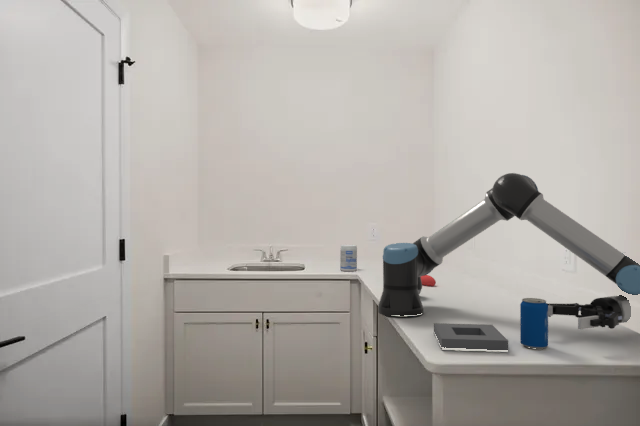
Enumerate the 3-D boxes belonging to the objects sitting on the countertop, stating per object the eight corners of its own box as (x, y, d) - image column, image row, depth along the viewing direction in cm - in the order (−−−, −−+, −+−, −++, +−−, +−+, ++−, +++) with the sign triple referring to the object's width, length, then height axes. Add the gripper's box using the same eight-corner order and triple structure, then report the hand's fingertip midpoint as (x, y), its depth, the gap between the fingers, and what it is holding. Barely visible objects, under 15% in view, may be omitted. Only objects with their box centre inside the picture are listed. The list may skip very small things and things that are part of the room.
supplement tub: (347, 272, 262) (347, 246, 262) (337, 270, 270) (336, 245, 270) (360, 270, 268) (360, 245, 268) (349, 269, 276) (349, 244, 276)
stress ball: (423, 290, 212) (430, 278, 211) (414, 280, 220) (421, 269, 219) (432, 293, 214) (438, 281, 213) (423, 283, 222) (429, 272, 221)
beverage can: (541, 352, 115) (541, 303, 115) (515, 346, 120) (515, 299, 120) (552, 347, 119) (552, 300, 119) (527, 341, 124) (527, 296, 124)
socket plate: (433, 333, 132) (433, 323, 132) (492, 335, 130) (492, 324, 130) (441, 350, 116) (441, 338, 116) (508, 352, 114) (508, 340, 114)
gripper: (657, 334, 119) (601, 344, 110) (570, 314, 142) (518, 321, 133) (657, 305, 119) (601, 313, 110) (570, 290, 142) (518, 295, 133)
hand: (555, 317), depth 122 cm, fingers open, 13 cm apart
